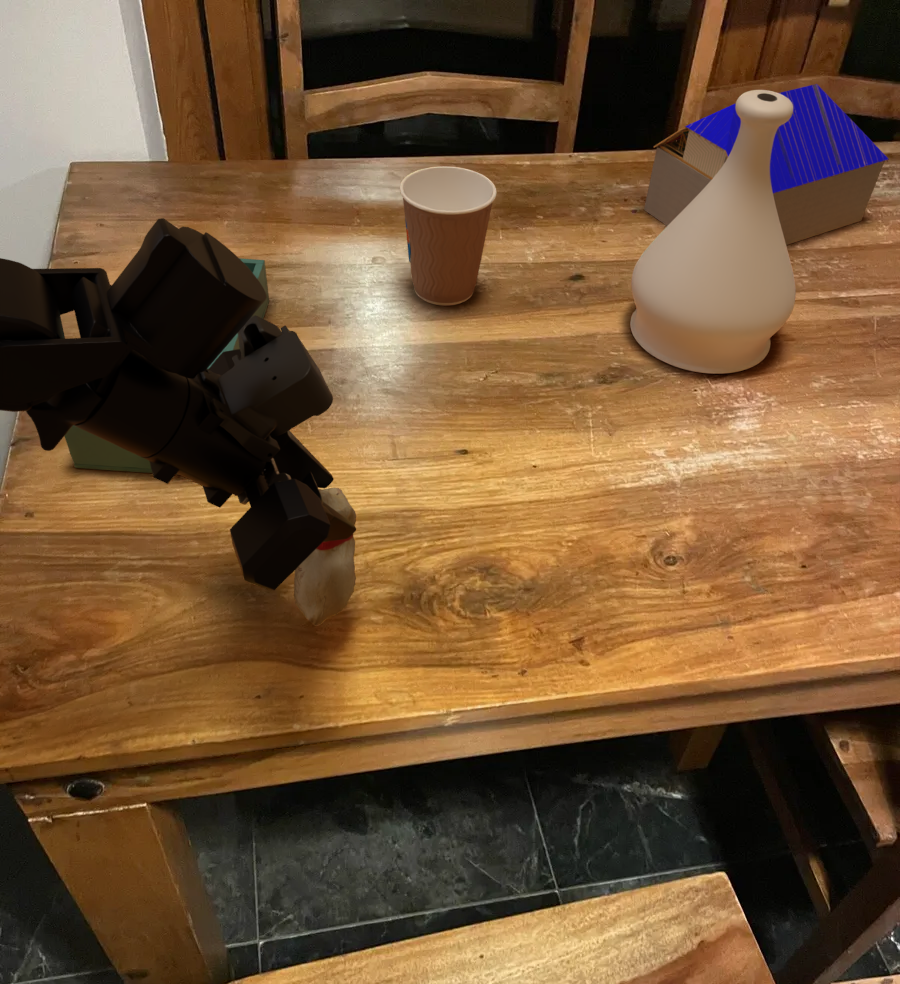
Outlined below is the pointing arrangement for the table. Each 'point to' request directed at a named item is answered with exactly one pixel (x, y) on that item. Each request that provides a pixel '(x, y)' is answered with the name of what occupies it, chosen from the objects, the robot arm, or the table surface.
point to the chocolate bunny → (327, 569)
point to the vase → (721, 260)
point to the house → (777, 165)
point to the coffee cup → (446, 230)
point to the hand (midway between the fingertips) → (340, 507)
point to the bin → (112, 457)
